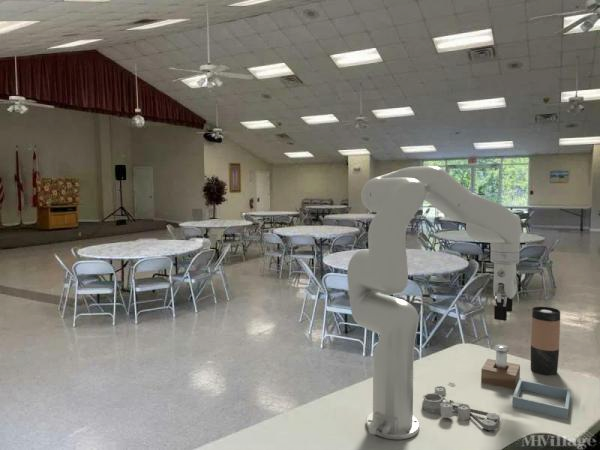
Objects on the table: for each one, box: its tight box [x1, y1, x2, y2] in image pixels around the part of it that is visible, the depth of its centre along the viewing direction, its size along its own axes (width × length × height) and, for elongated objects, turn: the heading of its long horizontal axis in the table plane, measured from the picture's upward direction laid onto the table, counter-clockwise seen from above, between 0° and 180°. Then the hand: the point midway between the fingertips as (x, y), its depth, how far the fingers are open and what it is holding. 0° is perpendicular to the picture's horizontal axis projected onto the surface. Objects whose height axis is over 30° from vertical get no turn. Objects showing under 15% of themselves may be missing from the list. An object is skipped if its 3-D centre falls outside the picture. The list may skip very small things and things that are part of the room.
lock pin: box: [494, 344, 509, 370], centre depth 134 cm, size 4×4×10 cm
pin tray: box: [511, 378, 571, 420], centre depth 121 cm, size 12×12×4 cm
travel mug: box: [530, 306, 561, 377], centre depth 140 cm, size 8×8×20 cm
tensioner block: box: [480, 358, 521, 391], centre depth 135 cm, size 9×9×5 cm
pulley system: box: [421, 381, 501, 431], centre depth 121 cm, size 27×5×15 cm
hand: (503, 315), depth 133 cm, fingers open, 9 cm apart
